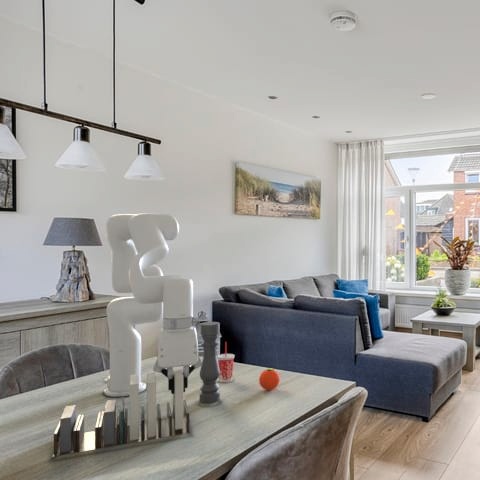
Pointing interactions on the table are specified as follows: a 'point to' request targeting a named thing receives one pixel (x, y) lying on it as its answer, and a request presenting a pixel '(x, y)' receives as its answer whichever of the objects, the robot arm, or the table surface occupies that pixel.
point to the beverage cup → (225, 366)
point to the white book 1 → (134, 407)
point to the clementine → (269, 379)
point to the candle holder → (209, 363)
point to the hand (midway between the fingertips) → (177, 391)
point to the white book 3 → (178, 398)
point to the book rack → (120, 430)
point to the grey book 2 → (109, 422)
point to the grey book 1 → (67, 428)
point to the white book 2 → (151, 405)
